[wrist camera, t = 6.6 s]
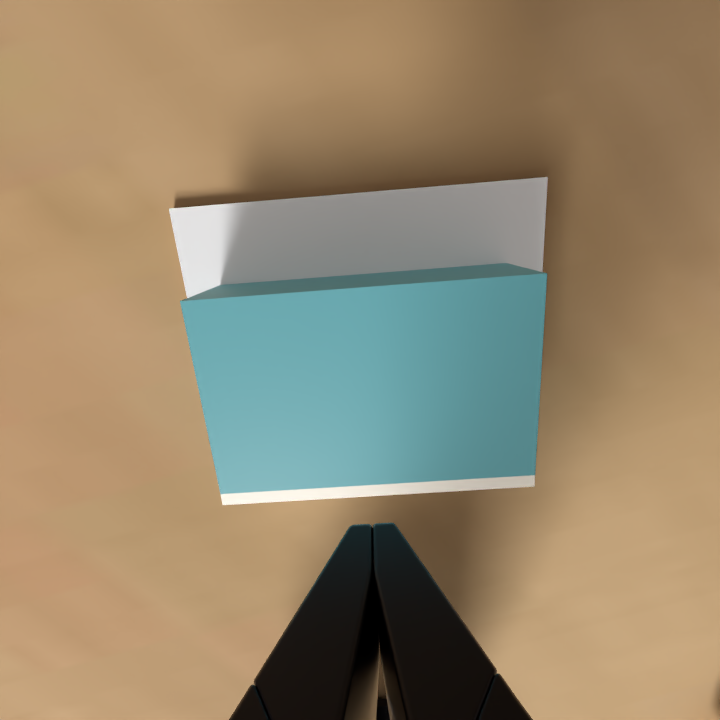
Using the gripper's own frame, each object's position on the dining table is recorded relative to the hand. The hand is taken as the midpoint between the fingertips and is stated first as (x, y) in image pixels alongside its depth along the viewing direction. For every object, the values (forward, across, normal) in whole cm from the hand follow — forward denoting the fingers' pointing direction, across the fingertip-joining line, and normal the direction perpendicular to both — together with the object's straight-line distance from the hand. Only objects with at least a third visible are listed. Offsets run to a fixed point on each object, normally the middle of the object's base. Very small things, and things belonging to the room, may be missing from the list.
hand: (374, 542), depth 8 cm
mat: (+12, 0, -2) cm, 12 cm away
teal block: (+9, 0, +4) cm, 10 cm away
